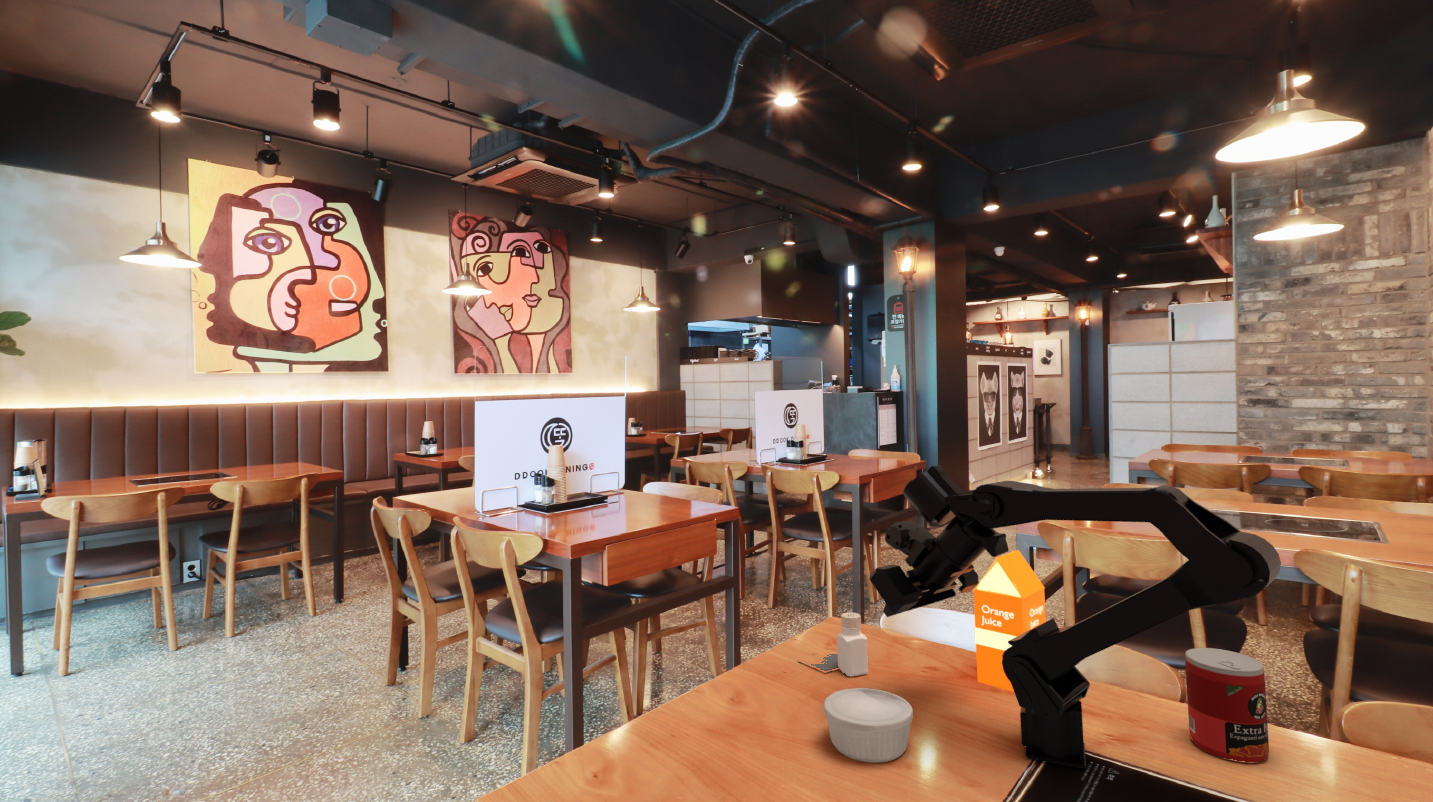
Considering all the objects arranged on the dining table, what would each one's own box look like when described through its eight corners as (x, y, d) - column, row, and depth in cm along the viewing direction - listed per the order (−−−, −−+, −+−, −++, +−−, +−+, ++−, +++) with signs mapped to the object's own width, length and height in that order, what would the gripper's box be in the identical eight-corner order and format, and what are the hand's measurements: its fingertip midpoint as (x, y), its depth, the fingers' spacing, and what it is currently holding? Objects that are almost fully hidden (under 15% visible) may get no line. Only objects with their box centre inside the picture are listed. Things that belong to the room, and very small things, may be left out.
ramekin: (923, 736, 85) (921, 696, 85) (901, 778, 75) (899, 732, 76) (842, 719, 91) (841, 681, 91) (812, 755, 81) (811, 713, 81)
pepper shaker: (836, 670, 108) (834, 613, 109) (857, 666, 109) (855, 610, 110) (848, 678, 104) (846, 619, 105) (870, 675, 106) (867, 616, 106)
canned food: (1239, 769, 75) (1233, 674, 75) (1173, 738, 82) (1169, 651, 83) (1286, 758, 77) (1281, 665, 77) (1218, 728, 84) (1213, 644, 85)
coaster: (858, 662, 111) (858, 659, 111) (825, 673, 107) (825, 670, 107) (829, 651, 117) (829, 648, 117) (797, 661, 112) (797, 658, 112)
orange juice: (976, 681, 102) (970, 555, 102) (1001, 666, 108) (995, 546, 108) (1027, 695, 96) (1020, 561, 97) (1050, 678, 102) (1043, 552, 103)
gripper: (957, 499, 100) (903, 559, 109) (877, 511, 89) (824, 577, 98) (1007, 557, 93) (945, 616, 102) (927, 578, 83) (865, 642, 91)
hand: (895, 611), depth 99 cm, fingers open, 4 cm apart
